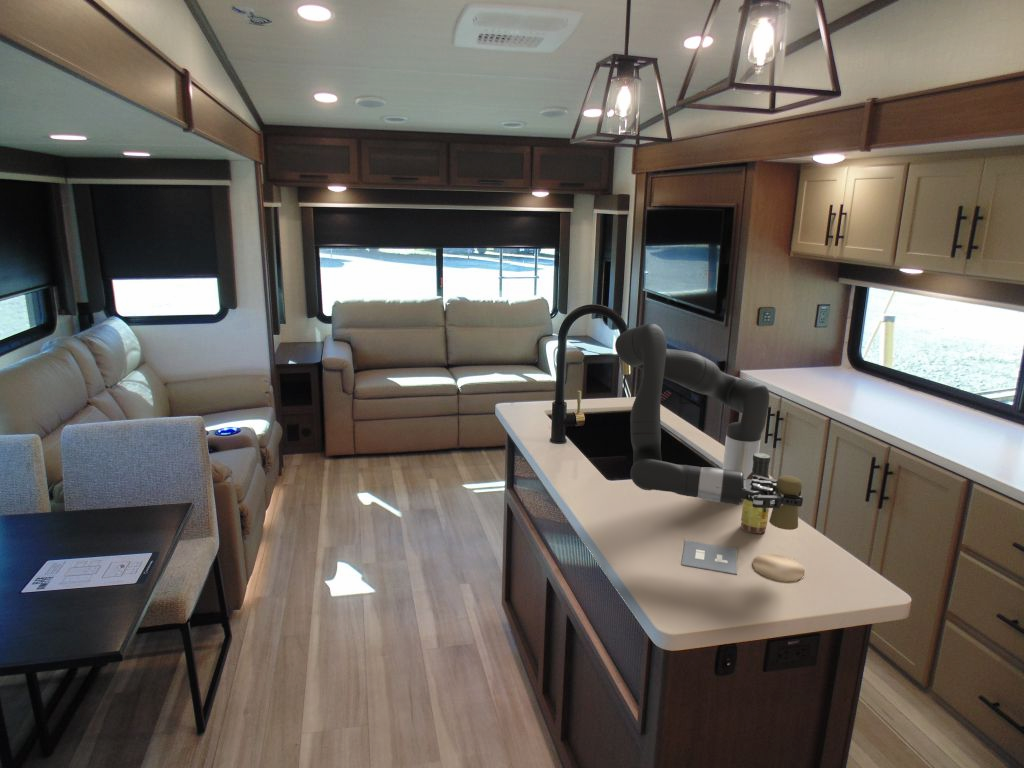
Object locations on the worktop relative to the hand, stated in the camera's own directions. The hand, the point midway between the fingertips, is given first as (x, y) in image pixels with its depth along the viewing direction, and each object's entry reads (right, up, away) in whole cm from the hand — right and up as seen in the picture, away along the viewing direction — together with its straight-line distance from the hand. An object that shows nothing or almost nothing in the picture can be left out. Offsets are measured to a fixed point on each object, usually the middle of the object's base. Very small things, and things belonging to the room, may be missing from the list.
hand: (801, 497), depth 147 cm
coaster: (-3, -17, +5) cm, 18 cm away
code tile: (-17, -16, +10) cm, 25 cm away
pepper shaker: (-3, -6, +3) cm, 8 cm away
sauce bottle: (-2, -12, +24) cm, 27 cm away
